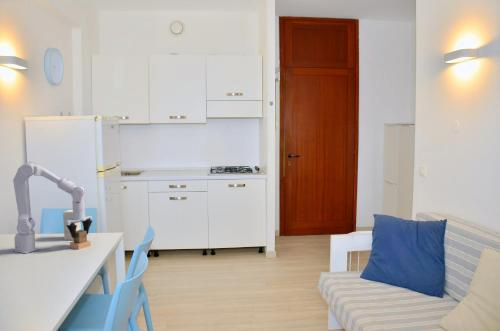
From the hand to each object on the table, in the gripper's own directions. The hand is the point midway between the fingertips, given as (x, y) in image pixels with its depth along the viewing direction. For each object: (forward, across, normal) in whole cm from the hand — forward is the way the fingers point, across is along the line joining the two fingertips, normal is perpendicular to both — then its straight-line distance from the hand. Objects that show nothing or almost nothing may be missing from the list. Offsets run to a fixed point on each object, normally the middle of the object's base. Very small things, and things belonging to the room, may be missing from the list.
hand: (80, 235), depth 216 cm
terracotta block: (+6, 0, 0) cm, 6 cm away
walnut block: (+3, 0, 0) cm, 3 cm away
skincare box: (+6, +9, +17) cm, 20 cm away
